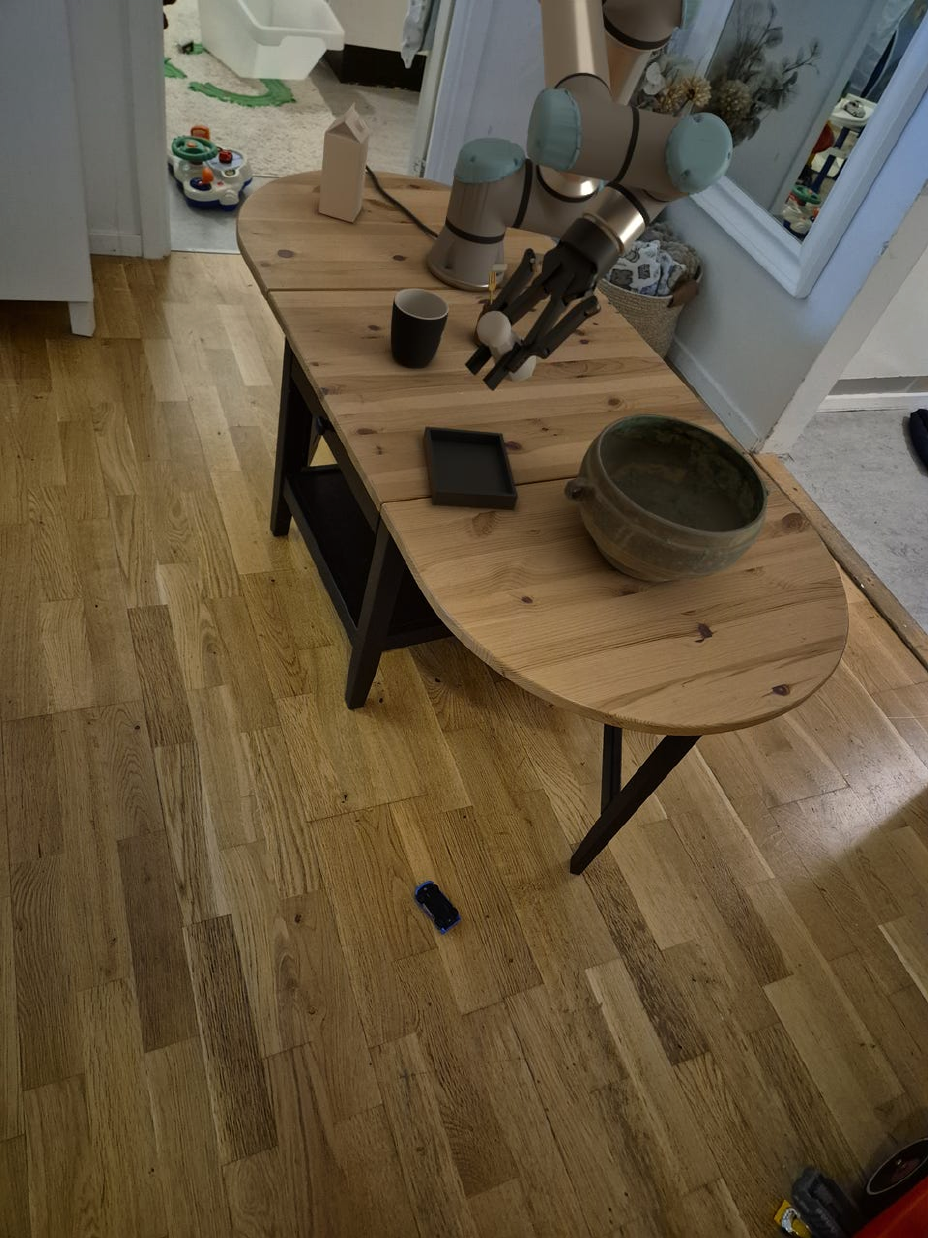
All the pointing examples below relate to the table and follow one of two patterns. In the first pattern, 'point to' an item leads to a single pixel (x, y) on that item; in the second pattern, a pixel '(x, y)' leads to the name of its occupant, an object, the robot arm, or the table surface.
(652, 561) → the bowl
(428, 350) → the mug
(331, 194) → the milk carton
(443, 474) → the tray
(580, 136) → the robot arm
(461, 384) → the table surface
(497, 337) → the salt shaker
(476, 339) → the utensil holder
